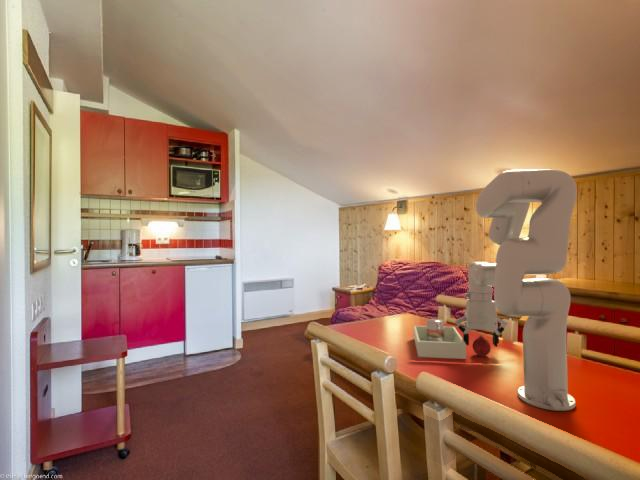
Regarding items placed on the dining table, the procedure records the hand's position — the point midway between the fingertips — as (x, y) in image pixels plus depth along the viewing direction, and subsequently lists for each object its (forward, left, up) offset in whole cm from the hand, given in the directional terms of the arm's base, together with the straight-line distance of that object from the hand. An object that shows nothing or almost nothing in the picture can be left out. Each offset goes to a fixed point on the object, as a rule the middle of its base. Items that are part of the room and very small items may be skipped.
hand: (480, 344), depth 122 cm
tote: (+6, +14, -4) cm, 16 cm away
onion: (-1, 0, -4) cm, 5 cm away
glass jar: (+12, +14, -4) cm, 19 cm away
